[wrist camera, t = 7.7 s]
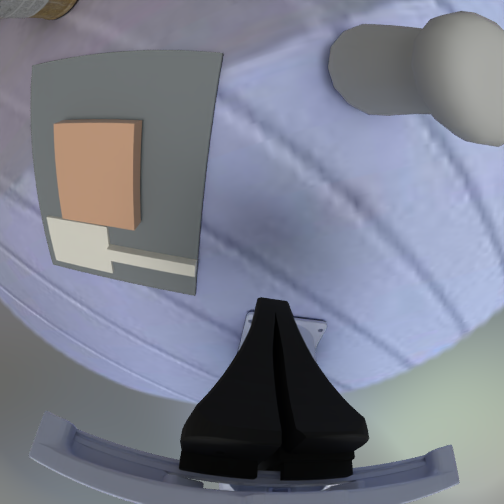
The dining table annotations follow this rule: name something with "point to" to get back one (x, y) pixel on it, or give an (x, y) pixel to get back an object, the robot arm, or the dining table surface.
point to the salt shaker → (427, 73)
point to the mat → (152, 144)
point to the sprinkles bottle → (35, 8)
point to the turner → (107, 249)
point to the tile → (99, 171)
